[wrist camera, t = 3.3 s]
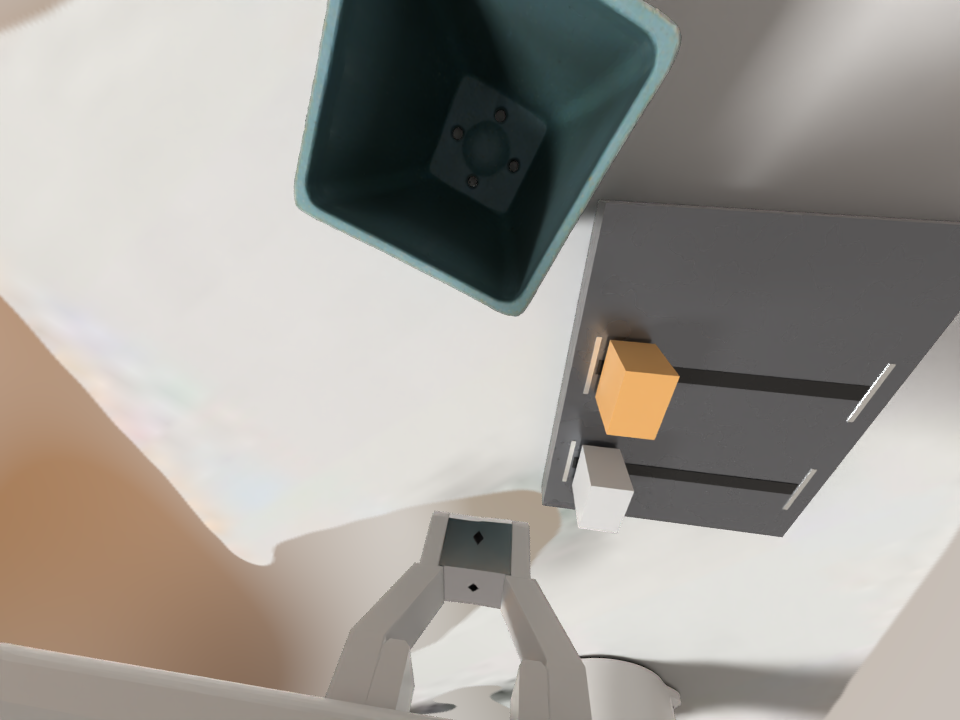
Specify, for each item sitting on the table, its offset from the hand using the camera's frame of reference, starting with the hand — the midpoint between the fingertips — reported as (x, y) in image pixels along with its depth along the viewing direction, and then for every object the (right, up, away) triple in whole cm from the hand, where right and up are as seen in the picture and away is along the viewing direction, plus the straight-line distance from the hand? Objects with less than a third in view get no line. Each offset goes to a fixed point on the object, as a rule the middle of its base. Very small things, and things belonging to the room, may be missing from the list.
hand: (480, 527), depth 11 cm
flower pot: (+1, +16, +7) cm, 18 cm away
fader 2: (+9, +5, +10) cm, 14 cm away
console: (+15, +3, +12) cm, 19 cm away
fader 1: (+8, -2, +13) cm, 16 cm away
